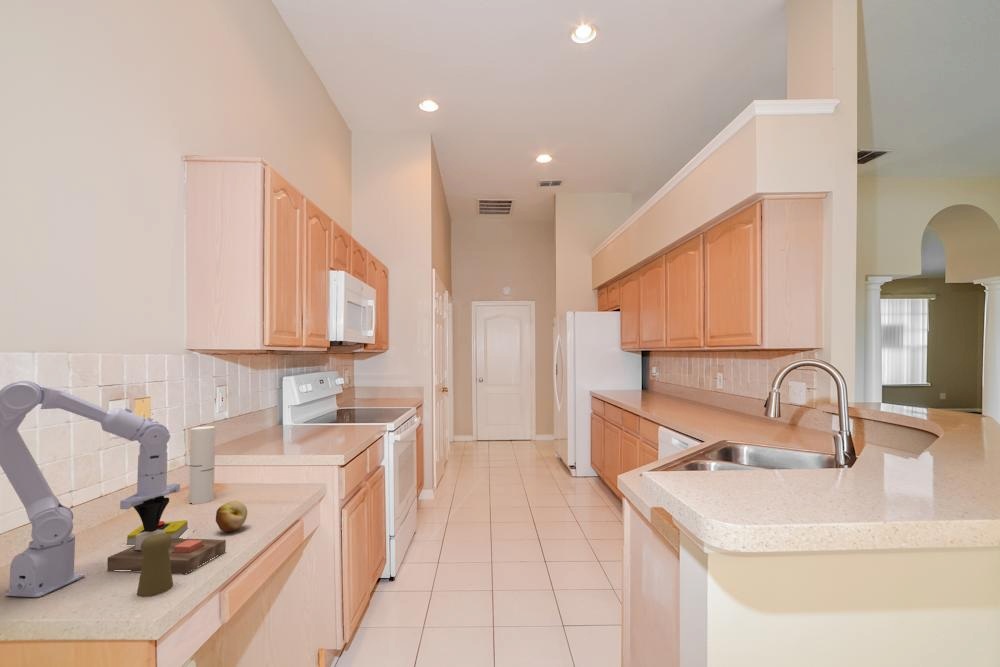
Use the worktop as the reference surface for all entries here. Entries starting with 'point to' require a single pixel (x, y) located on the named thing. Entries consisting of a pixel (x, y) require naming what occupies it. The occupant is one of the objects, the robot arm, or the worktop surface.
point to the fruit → (231, 516)
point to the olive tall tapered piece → (155, 566)
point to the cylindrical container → (202, 465)
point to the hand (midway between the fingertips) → (150, 530)
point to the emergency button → (171, 528)
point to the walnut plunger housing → (178, 561)
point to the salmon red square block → (188, 546)
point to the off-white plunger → (144, 535)
